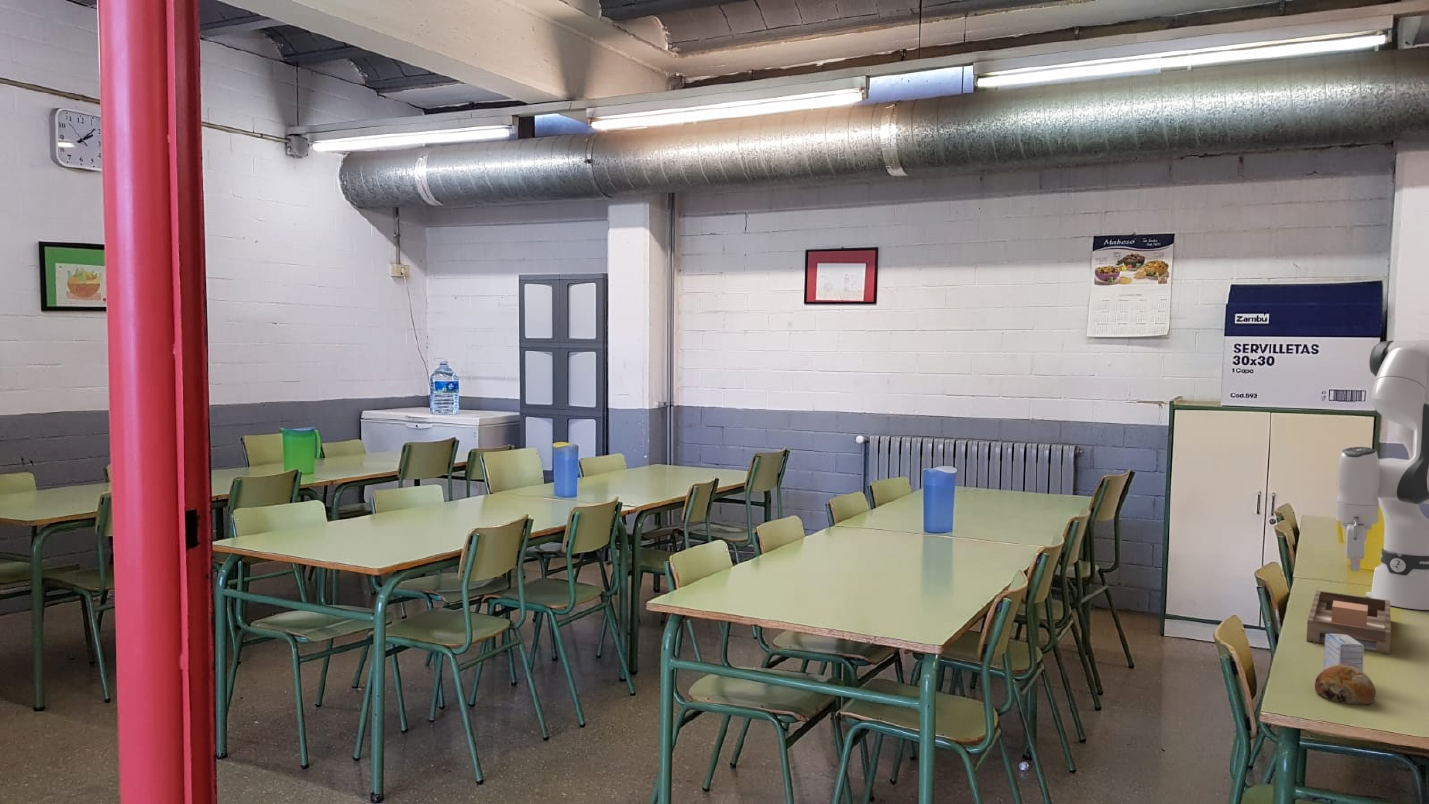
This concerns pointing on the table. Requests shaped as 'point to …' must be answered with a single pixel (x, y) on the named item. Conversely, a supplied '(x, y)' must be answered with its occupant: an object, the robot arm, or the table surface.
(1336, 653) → the medicine box
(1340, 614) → the block
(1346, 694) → the bread roll
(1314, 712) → the table surface
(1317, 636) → the tray
